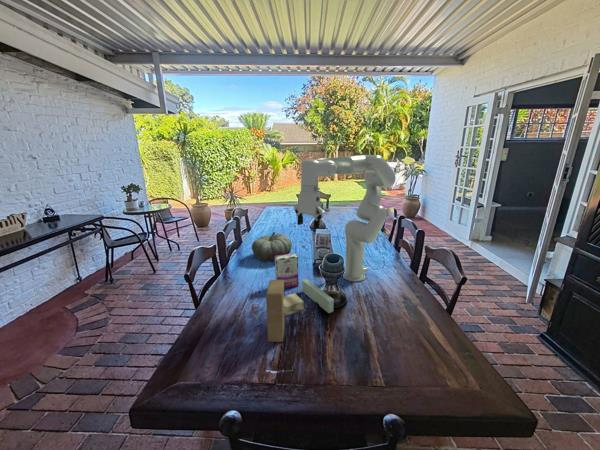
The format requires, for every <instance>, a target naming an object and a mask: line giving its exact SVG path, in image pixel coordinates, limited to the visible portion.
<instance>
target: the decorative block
mask: <svg viewBox="0 0 600 450" xmlns="http://www.w3.org/2000/svg"><path fill="white" fill-rule="evenodd" d="M284 296H285V288H284V280H276V279H270V280H269V283H268V286H267V290H266V293H265V299H266V300H265V302H266V304H265V305H266V325H267V342H269V343H283V341H284V336H285V335H284V334H285V328H286V327H285V325H286V320H285V319H286V316H285V315H284V314H283V300H284Z"/></svg>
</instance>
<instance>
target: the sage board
mask: <svg viewBox="0 0 600 450" xmlns="http://www.w3.org/2000/svg"><path fill="white" fill-rule="evenodd" d="M301 284H302V285H301V288H302V290H301V291H302V293H304V294H305V295H307V297H308V298H310V299H311V300H312V301H313V302H314V303H316V302H317V303H318V304H319V305H318V304H317V303H316V304H317V305H318V306H319V307H320V308H321V309H323V310H324V311H325V312H326V313H327V314H330V313H333V312H334V306H335V305H334V303H335V302H334V301H335V299H334V298H333V297H331V296H330V295H329V294H327V292H326V293H325V291H324V290H322V289H320V288H319V287H318V286H317V285H315V284H314V283H313V282H311V280H308V279H307V278H305V279H302V281H301Z"/></svg>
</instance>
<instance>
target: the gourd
mask: <svg viewBox="0 0 600 450" xmlns="http://www.w3.org/2000/svg"><path fill="white" fill-rule="evenodd" d="M292 247H293V246H292V240H291V238H290V237H288V236H287V235H286V234H285V233H284V234H283V233H280V232H279V233H276V232H275V231H273V232H272V234H271V235H264V236H260V237H258V238H257V239H255V240H254V241H253V242H252V243H251V250H252V252H253V253H252V254H253V255H254V257H256V259H259V260H260V261H262V262H267V261H272V262H275V256H278V255H287V254H291V250H292Z"/></svg>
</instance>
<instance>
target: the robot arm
mask: <svg viewBox="0 0 600 450" xmlns="http://www.w3.org/2000/svg"><path fill="white" fill-rule="evenodd" d="M300 169H301V170H300V171H301V174H300V175H301V176H300V178H301V179H300V191H299V196H298V201H297V204H295V205H293V208H294V212H295V214H296V217H297V223H296V224H297V225H298V226H301V225H303V223H304V215H307V216H312V217H313V219H314V220H313V229H314V230H318V229H320V226H321V225H320V222H321V220H322V219H323V218H324V216H325V213H326V211H325V210H324V209H323V208H322V207H321V206H322V205H321V194H320V192H318V191H320V187H319V179H320V177H322V178H331V177H333V176H334V175H345V176H346V175H355V174H361V173H362V174H363V173H365V174H364V183H365V187H366V191H365V195H364V196H363V199H362V200H361V202H360V204H359V206H358V208H357V210H356V217H357V218H358V219H359V220H358V219H357V220H355V219H352V220H349V221H347V223H346V224H345V226H344V234H345V258H344V259H345V264H344V271H345V273H344V275H343V277H342V278H343V279H344V280H346V281H347V282H348V281H349V282H354V283H355V282H361V281H363V280H365V279H366V273H365V272H368V271H369V270H370V267H368V266H366V267H364V257H365V244H371V243H373V242H375V240H376V239H377V238H378V236H379V234H380V231H381V230H382V228H383V226H384V224H385V222H386V220H387V216H388V211H387V208H385V207H384V206H382V205H380V203H381V201H382V196H383V195H382V191H381V187H382V188H390V187H392V186H394V184H395V183H396V178H397V177H396V174H395V172H394V169H392V167H391V166H390V165H389V163H388V162H387V161H386V159H385V158H383V156H381V155H379V154H358V155H347V156H346V155H345V156H336V157H324V158H322V157H321V158H314V159H304V160H302V161H301V168H300ZM360 220H361V221H360ZM363 221H364V222H363ZM366 222H367V223H366ZM364 243H365V244H364Z"/></svg>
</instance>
